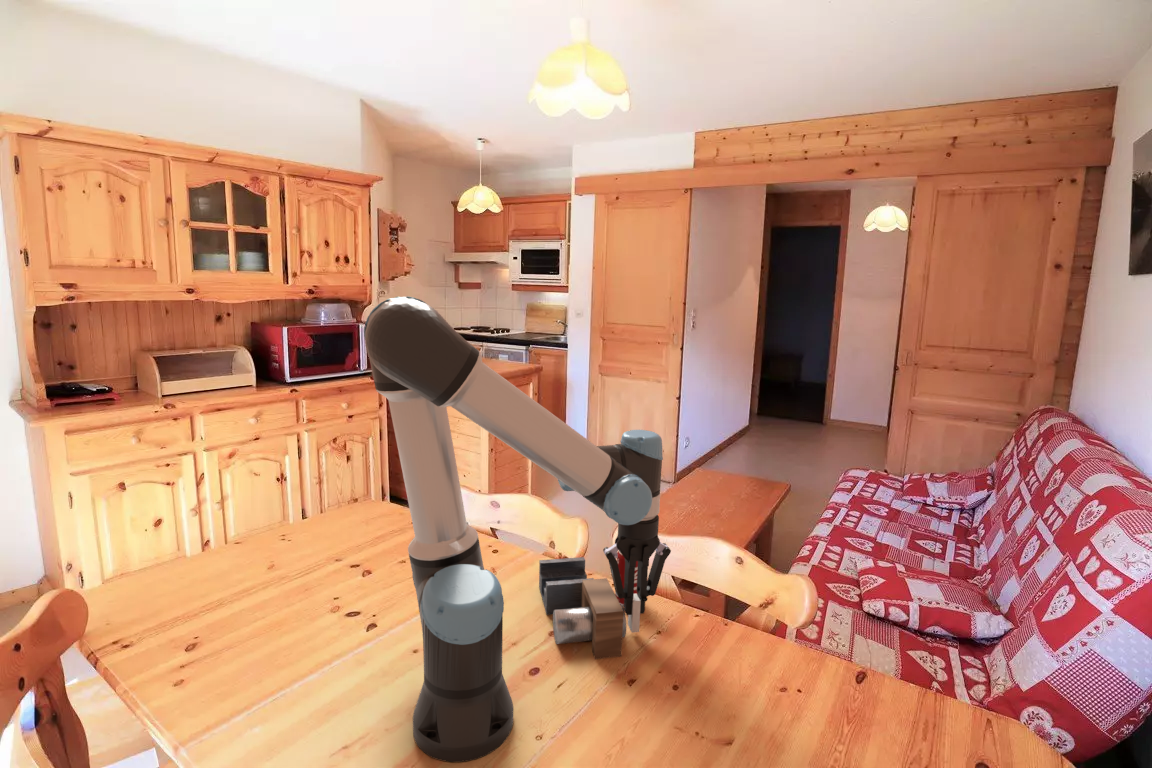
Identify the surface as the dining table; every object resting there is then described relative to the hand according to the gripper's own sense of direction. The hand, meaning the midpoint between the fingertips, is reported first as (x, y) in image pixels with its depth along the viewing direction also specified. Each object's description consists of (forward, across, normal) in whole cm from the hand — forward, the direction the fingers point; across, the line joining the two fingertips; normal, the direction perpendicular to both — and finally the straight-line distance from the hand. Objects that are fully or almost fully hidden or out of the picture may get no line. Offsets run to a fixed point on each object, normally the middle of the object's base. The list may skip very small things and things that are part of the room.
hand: (633, 628), depth 115 cm
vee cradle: (+1, +11, -15) cm, 18 cm away
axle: (-2, +9, 0) cm, 9 cm away
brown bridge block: (+1, +7, 0) cm, 7 cm away
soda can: (+2, -2, -12) cm, 12 cm away
